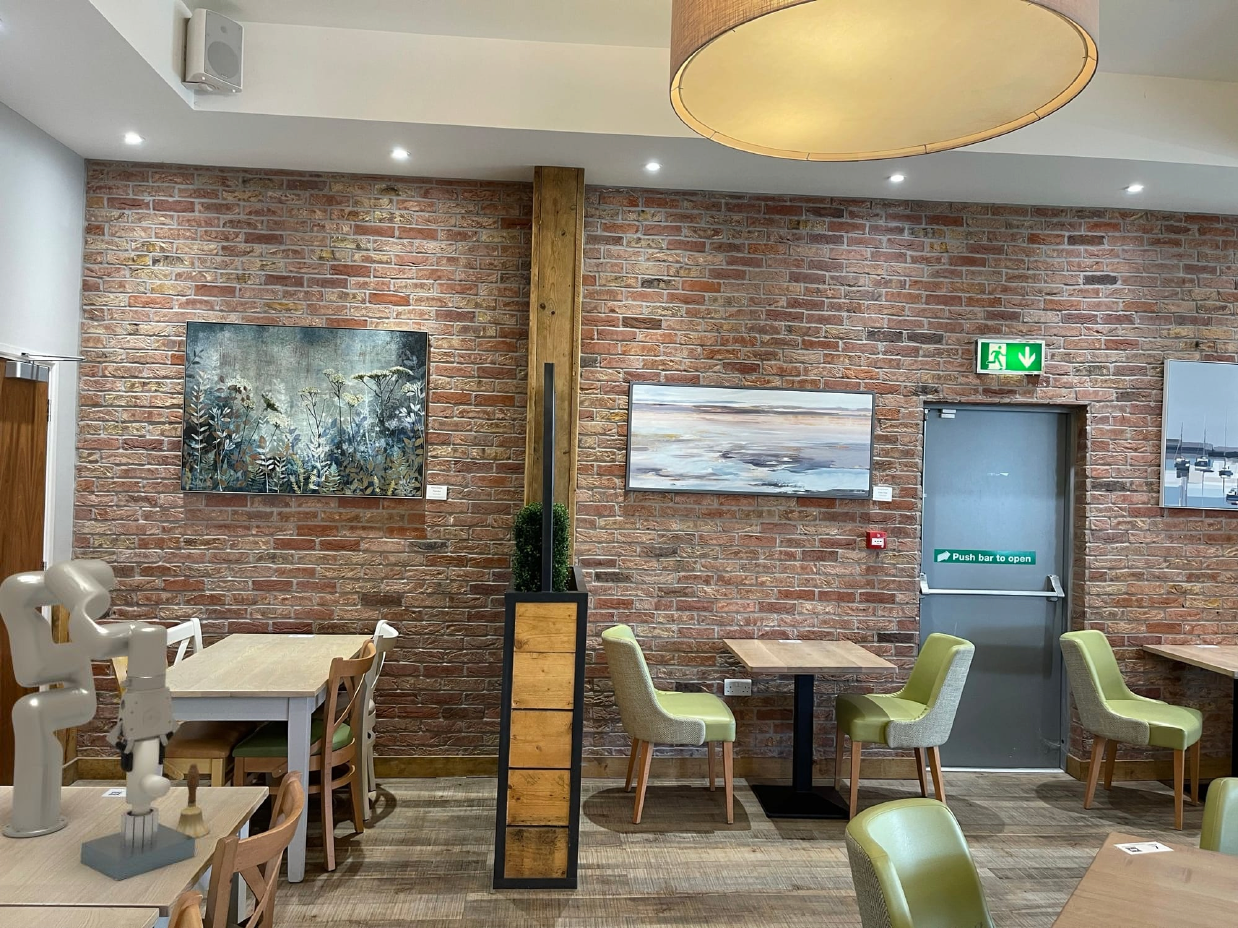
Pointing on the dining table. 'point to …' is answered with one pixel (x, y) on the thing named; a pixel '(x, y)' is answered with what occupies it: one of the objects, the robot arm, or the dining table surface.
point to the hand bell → (192, 809)
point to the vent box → (137, 847)
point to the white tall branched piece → (145, 776)
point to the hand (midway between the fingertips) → (142, 766)
